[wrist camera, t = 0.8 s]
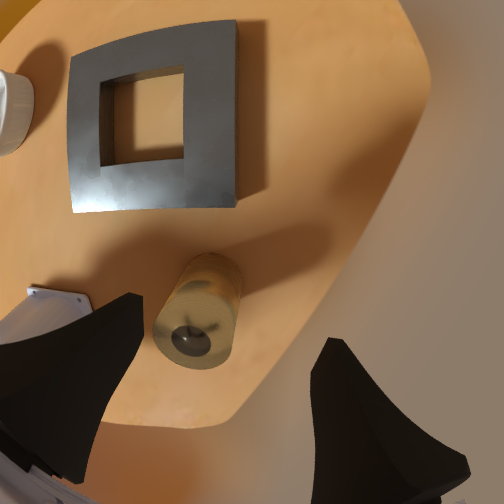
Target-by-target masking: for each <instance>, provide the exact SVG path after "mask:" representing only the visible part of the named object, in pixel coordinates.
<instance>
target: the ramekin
mask: <svg viewBox="0 0 504 504" xmlns="http://www.w3.org/2000/svg"><path fill="white" fill-rule="evenodd" d="M33 110H34V90H33V86H32V84H31V82H30V80H29V79H28V78H27V77H25V76H22V75H17V74H13V73H8V72H5V71H4V70H1V69H0V157H2V156H5V155H8V154H10V153H12V152H13V151H15V150H16V149H17V148H18V147H19V146H20V145H21V143H22V142H23V140H24V139H25V137H26V135H27V132H28V130H29V127H30V124H31V120H32V116H33Z"/></svg>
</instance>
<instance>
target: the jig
mask: <svg viewBox="0 0 504 504" xmlns="http://www.w3.org/2000/svg"><path fill="white" fill-rule="evenodd" d="M238 45H239V31H238V27H237V23H236V20H220V21H210V22H201V23H193V24H186V25H180V26H174V27H168V28H163V29H159V30H154V31H150V32H145V33H141V34H137V35H134V36H130V37H126V38H123V39H120V40H116V41H113V42H110V43H107V44H104V45H101V46H98V47H95V48H93V49H90V50H87V51H85V52H82V53H80V54H77V55H75V56H73V57H71V63H70V72H69V83H68V98H67V154H68V170H69V181H70V191H71V199H72V207H73V213H77V212H92V211H110V210H131V209H159V208H235V207H236V205H237V203H238ZM180 73H184V91H183V143H184V158H172V159H159V160H148V161H138V162H129V163H121V164H115V159H114V127H113V114H114V86H117V85H121V84H126V83H130V82H134V81H139V80H144V79H149V78H155V77H160V76H167V75H173V74H180Z"/></svg>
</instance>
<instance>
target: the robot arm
mask: <svg viewBox="0 0 504 504" xmlns="http://www.w3.org/2000/svg"><path fill="white" fill-rule="evenodd" d="M27 293H28V295H29V296H28V297H27V298H26V299H25V300H24V301H22V302H21V303H20V304H19V305H18V306H17V307H16V308H14V309H13V310H12V311H11V312H10V313H9V314H8V315H7V316H6V317H5V318H4V319H2V320H1V321H0V504H64V503H63V502H65V503H66V504H100V503H98V502H96V501H94V500H91V499H90V498H88V497H86V496H84V495H82V494H80V493H78V492H76V491H74V490H72V489H71V488H69V487H67V486H66V485H64V484H62V483H60V482H59V481H57V480H55V479H54V478H52V475H55V476H57V477H58V478H60V479H62V477H63V478H65V479H67V480H68V481H70V482H72V483H74V484H81V483H83V482H84V477H85V472H86V467H87V463H88V459H89V455H90V452H91V448H92V445H93V442H94V438H95V436H96V432H97V430H98V427H99V424H100V422H101V419H102V416H103V414H104V412H105V409H106V407H107V404H108V402H109V400H110V398H111V396H112V395H113V393H114V391H115V389H116V388H117V386H118V384H119V383H120V381H121V379H122V378H123V376H124V374H125V372H126V371H127V369H128V367H129V366H130V364H131V362H132V361H133V359H134V357H135V355H136V353H137V351H138V349H139V346H140V344H141V342H142V339H143V337H144V323H143V296H140V295H137V294H133V293H130V292H129V293H126V294H124V295H123V296H121V297H119V298H117V299H115V300H113V301H112V302H110V303H108V304H106V305H105V306H103V307H101V308H99V309H97V310H95V311H92V308H91V305H90V301H89V298H88V297H87V296H86V295H85V294H79V293H71V292H64V291H57V290H50V289H44V288H37V287H31V286H29V287H28V288H27ZM310 379H311V380H310V396H311V397H310V398H311V407H312V415H313V426H314V436H315V471H314V482H313V492H312V499H311V504H441V502H442V501H441V497H440V496H442V495H444V494H445V493H447V492H449V491H450V490H452V489H453V488H455V487H457V486H458V485H460V484H462V483H463V482H464V481H466V480H467V479H468V478H469V477H470V475H471V472H470V468H469V465H468V462H467V459H466V456H465V455H463V454H461V453H459V452H457V451H455V450H453V449H451V448H449V447H447V446H445V445H444V444H442V443H441V442H439V441H438V440H436V439H434V438H433V437H431V436H430V435H429V434H427V433H426V432H424V431H423V430H422V429H421V428H420V427H418V426H417V425H416V424H414V423H413V422H412V421H411V420H410V419H409V418H407V417H406V416H405V415H404V414H403V413H402V412H401V411H400V410H399V409H398V408H397V407H396V406H395V405H394V404H393V403H392V402H391V401H390V399H389V398H388V397H387V396H386V395H385V394H384V392H383V391H382V390H381V389H380V388H379V387H378V385H377V384H376V383H375V382H374V380H373V379H372V378H371V377H370V375H369V374H368V373H367V371H366V370H365V369H364V368H363V366H362V365H361V363H360V362H359V361H358V359H357V358H356V356H355V355H354V354H353V352H352V351H351V350H350V348H349V347H348V346H347V344H346V343H345V342H344V340H342V339H337V338H330V337H328V339H327V341H326V343H325V345H324V347H323V349H322V351H321V353H320V355H319V357H318V359H317V361H316V363H315V365H314V367H313V369H312V371H311V378H310ZM62 501H63V502H62ZM454 504H466V503H465V500H464V499H462V500H460V501H458V502H456V503H454Z"/></svg>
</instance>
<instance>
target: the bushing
mask: <svg viewBox="0 0 504 504" xmlns="http://www.w3.org/2000/svg"><path fill="white" fill-rule="evenodd" d="M241 288H242V276H241V273H240V271H239V269H238V268H237V266H236V265H235V264H234V263H233V262H232V261H231V260H230V259H228V258H226V257H224V256H222V255H219V254H212V253H210V254H203V255H200V256H197V257H196V258H194V259H193V260H192V261H191V262H190V263H189V264H188V266H187V267H186V269H185V271H184V272H183V274H182V276H181V277H180V279H179V281H178V282H177V284H176V286H175V287H174V289H173V291H172V293H171V294H170V296H169V298H168V299H167V301H166V303H165V305H164V306H163V308H162V310H161V312H160V313H159V315H158V317H157V319H156V320H155V322H154V325H153V338H154V341H155V343H156V345H157V347H158V348H159V350H160V351H161V352H162V353H163V354H164V355H165V356H166V357H167V358H168V359H170V360H171V361H173V362H175V363H176V364H178V365H181V366H183V367H186V368H191V369H199V370H203V369H211V368H214V367H217V366H219V365H221V364H222V363H224V362H225V361H226V360H227V359H228V357H229V355H230V353H231V349H232V344H233V337H234V331H235V325H236V319H237V313H238V307H239V301H240V294H241Z"/></svg>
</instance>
